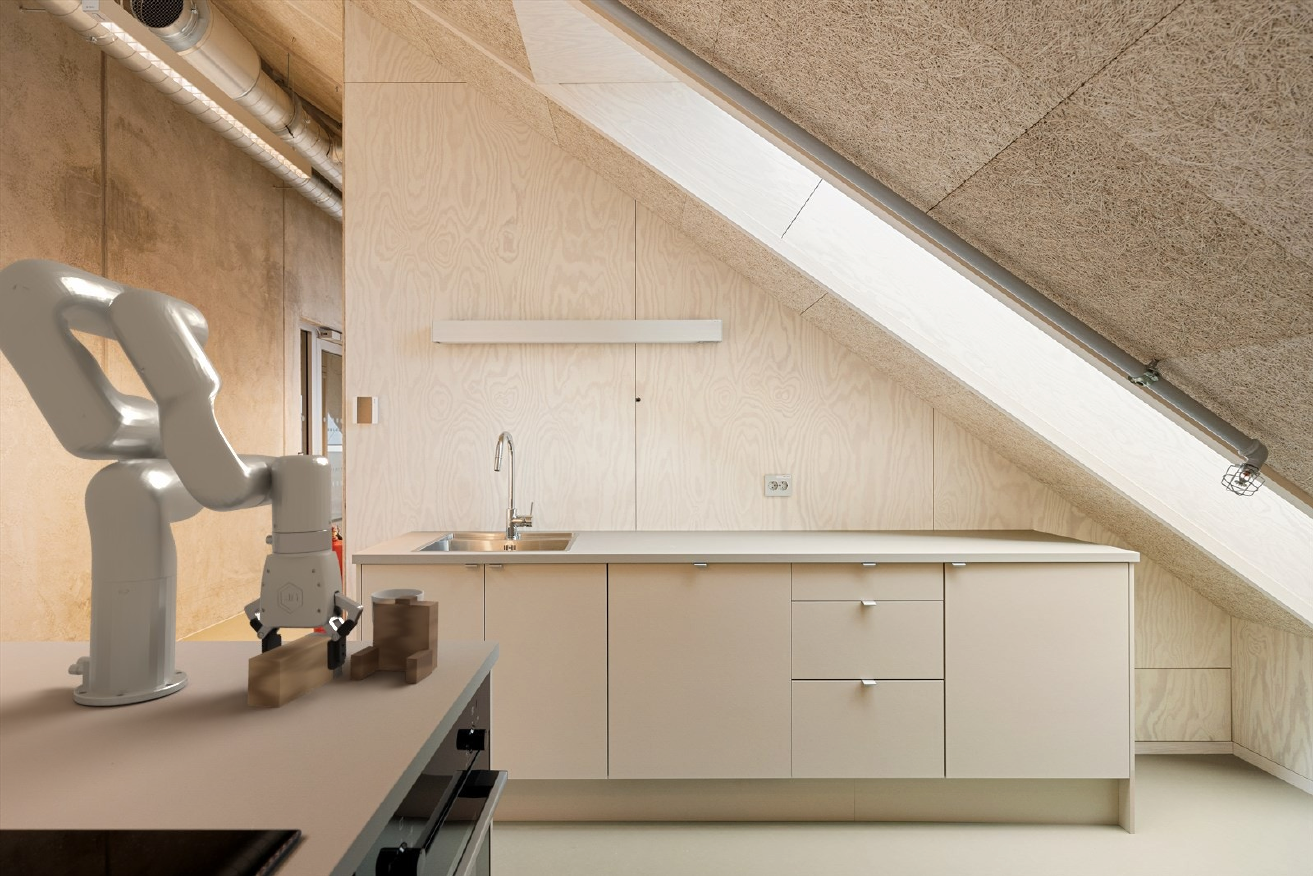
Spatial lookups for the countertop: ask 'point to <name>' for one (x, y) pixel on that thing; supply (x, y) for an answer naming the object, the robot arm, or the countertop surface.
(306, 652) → the wooden block
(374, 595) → the cup
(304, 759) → the countertop surface
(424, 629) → the wooden footed block
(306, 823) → the countertop surface
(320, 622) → the robot arm
